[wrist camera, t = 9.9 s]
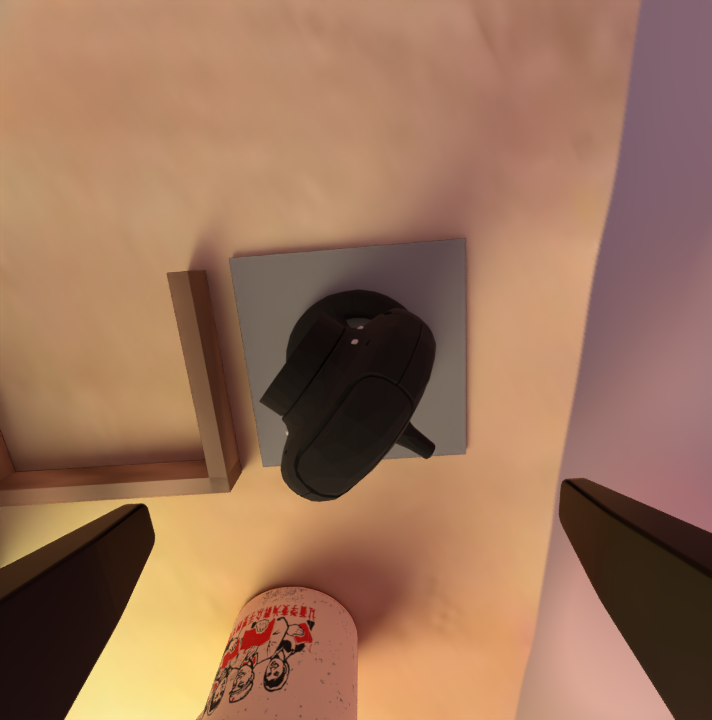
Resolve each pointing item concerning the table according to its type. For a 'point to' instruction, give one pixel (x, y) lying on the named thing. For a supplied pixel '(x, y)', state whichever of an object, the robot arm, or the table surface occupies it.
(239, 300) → the mat
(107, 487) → the holder
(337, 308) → the webcam
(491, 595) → the table surface
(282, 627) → the teacup with lid
